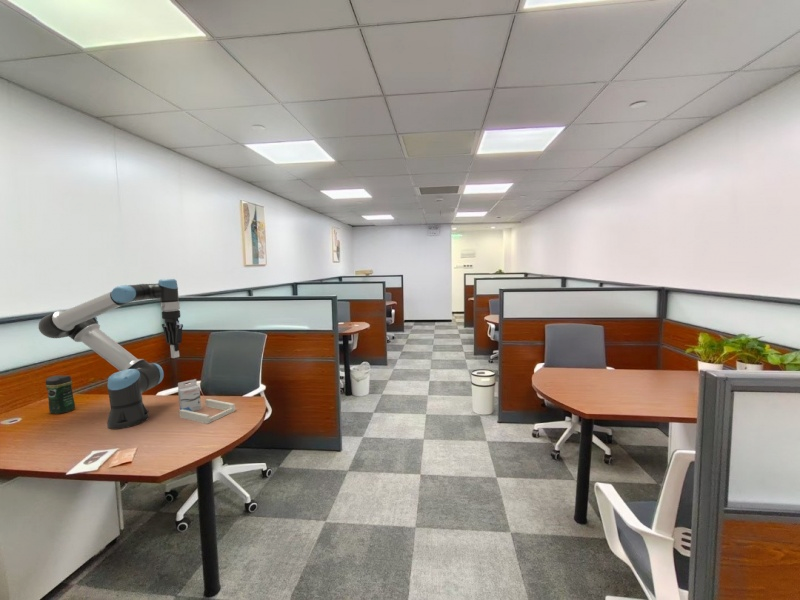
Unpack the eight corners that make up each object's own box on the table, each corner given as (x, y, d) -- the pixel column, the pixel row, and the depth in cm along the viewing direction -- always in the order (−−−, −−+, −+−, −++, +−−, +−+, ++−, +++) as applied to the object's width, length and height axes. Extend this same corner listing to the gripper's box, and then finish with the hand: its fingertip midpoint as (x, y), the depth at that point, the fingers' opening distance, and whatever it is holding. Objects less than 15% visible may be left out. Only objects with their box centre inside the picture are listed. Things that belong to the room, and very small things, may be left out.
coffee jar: (79, 408, 177) (74, 373, 175) (61, 414, 169) (56, 378, 167) (63, 407, 178) (59, 373, 177) (46, 414, 171) (40, 378, 169)
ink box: (182, 414, 164) (179, 385, 163) (179, 411, 168) (176, 382, 167) (201, 409, 170) (199, 380, 169) (199, 406, 174) (196, 378, 173)
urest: (179, 417, 161) (179, 410, 161) (208, 405, 175) (208, 398, 174) (207, 423, 153) (206, 416, 153) (235, 410, 167) (234, 403, 167)
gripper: (154, 311, 167) (159, 358, 169) (171, 311, 161) (176, 360, 164) (169, 309, 174) (174, 354, 176) (187, 309, 168) (191, 356, 171)
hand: (175, 357), depth 170 cm, fingers closed
